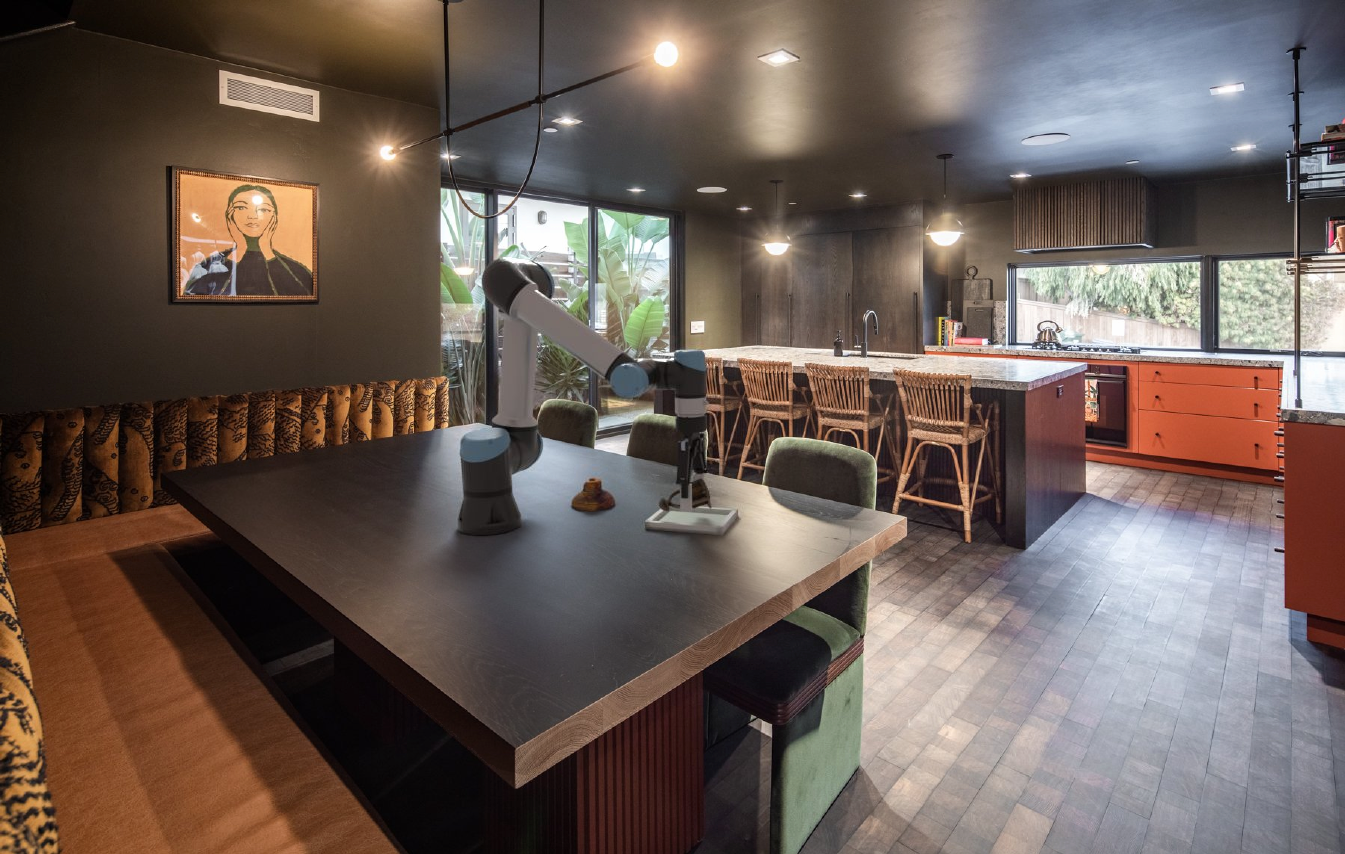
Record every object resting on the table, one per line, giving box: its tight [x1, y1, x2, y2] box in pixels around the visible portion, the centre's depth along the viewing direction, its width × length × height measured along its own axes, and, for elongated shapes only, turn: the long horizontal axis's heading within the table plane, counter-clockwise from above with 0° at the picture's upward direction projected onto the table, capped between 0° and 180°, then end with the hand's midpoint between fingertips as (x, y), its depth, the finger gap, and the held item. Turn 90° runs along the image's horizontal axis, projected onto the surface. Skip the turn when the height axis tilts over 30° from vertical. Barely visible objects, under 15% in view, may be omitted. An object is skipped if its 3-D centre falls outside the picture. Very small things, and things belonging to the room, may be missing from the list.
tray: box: [644, 506, 739, 536], centre depth 174 cm, size 19×16×2 cm
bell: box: [571, 477, 616, 512], centre depth 192 cm, size 12×12×7 cm
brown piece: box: [658, 479, 712, 511], centre depth 173 cm, size 7×13×10 cm
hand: (692, 504), depth 174 cm, fingers closed on brown piece, 10 cm apart
